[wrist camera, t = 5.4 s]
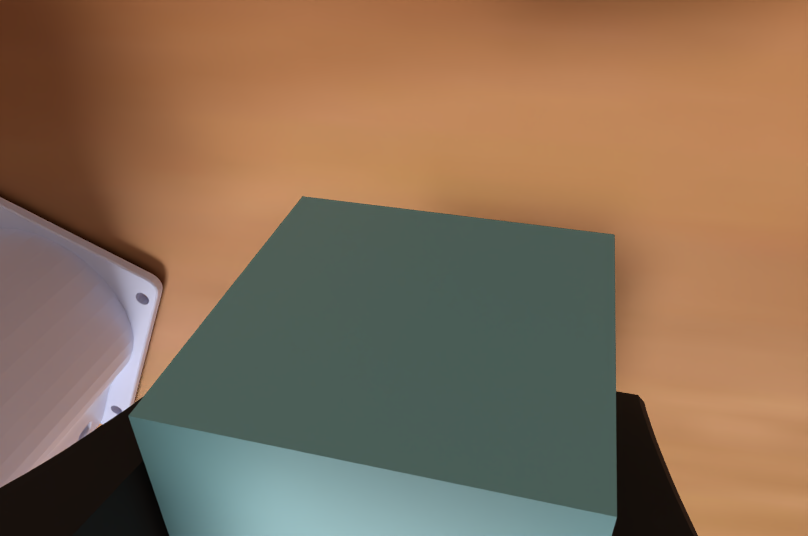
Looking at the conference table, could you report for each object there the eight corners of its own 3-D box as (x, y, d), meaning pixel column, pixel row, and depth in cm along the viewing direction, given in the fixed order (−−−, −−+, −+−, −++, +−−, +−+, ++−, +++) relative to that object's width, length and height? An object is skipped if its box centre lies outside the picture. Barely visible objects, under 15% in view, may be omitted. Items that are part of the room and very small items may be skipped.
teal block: (568, 455, 13) (550, 747, 9) (324, 408, 14) (209, 650, 10) (614, 234, 10) (616, 516, 6) (302, 196, 11) (127, 415, 7)
